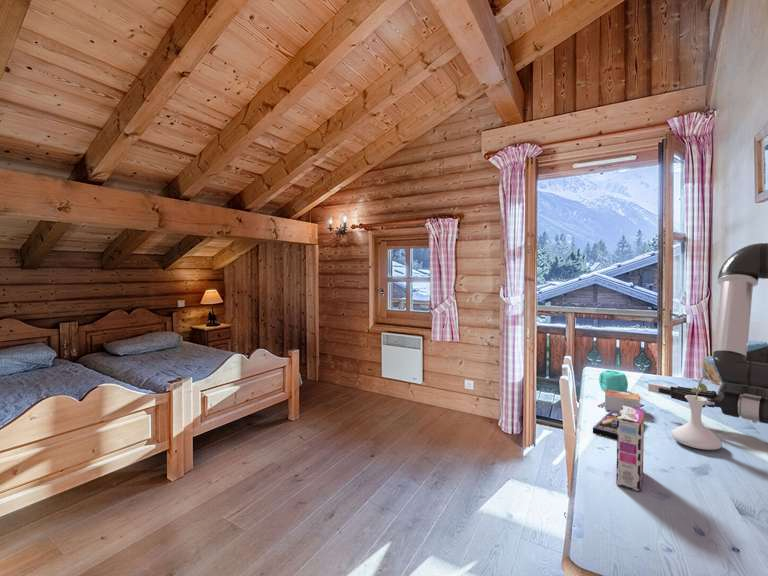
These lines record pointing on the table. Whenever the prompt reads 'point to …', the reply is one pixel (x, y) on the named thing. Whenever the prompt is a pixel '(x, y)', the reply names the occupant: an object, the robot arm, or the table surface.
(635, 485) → the candy bar box
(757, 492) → the table surface
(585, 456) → the table surface
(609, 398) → the small box
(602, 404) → the grey mat
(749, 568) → the table surface
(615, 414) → the vhs tape
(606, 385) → the decorative dice
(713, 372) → the flower in vase
